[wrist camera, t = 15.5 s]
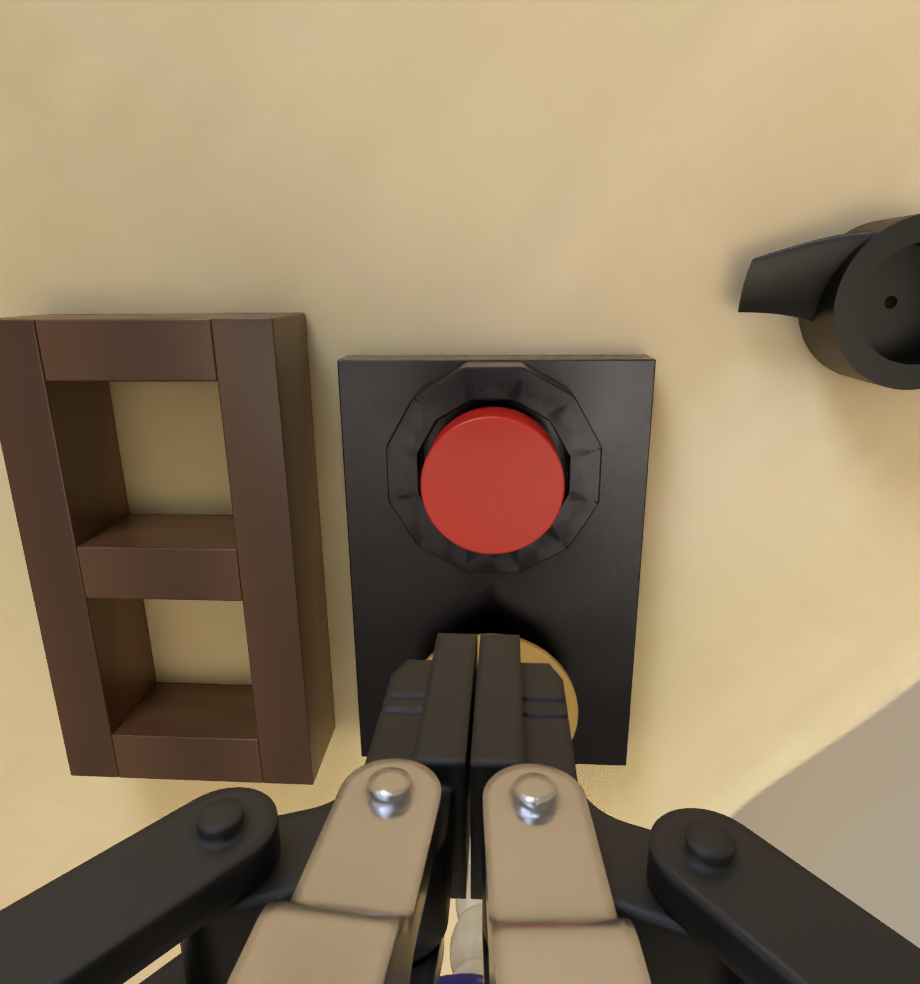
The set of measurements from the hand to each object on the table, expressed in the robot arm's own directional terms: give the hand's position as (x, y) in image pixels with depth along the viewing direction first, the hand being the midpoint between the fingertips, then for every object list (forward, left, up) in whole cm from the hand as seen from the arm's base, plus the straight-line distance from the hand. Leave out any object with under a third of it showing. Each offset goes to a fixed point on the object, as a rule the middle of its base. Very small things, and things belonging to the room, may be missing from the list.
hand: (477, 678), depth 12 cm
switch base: (+5, 0, -17) cm, 18 cm away
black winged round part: (-6, +14, -17) cm, 23 cm away
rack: (+4, -13, -17) cm, 22 cm away
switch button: (0, 0, -14) cm, 14 cm away
